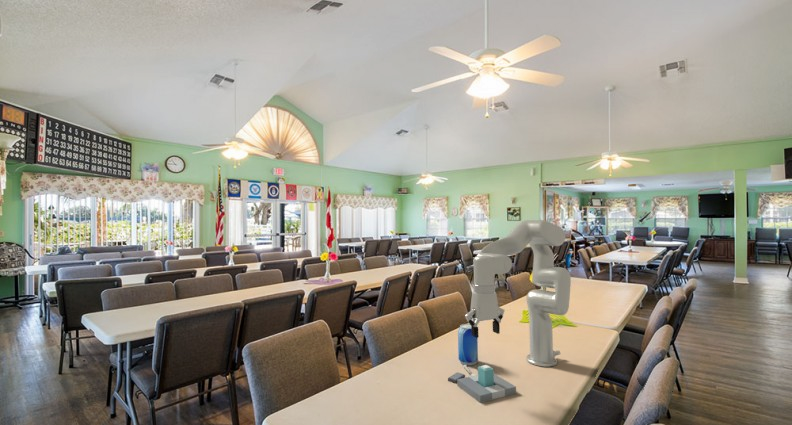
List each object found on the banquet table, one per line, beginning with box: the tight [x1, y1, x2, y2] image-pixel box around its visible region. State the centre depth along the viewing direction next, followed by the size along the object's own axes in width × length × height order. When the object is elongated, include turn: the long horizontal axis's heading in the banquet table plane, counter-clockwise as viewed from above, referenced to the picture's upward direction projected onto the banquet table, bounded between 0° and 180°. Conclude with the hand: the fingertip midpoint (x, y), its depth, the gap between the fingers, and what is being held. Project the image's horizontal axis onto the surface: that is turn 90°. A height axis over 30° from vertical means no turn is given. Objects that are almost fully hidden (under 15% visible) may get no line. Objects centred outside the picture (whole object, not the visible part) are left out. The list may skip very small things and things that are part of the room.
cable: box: [462, 364, 476, 376], centre depth 146 cm, size 11×1×1 cm, turn 9°
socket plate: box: [456, 373, 517, 403], centre depth 131 cm, size 16×14×2 cm
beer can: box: [457, 323, 479, 366], centre depth 157 cm, size 8×8×16 cm
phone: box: [447, 372, 466, 384], centre depth 140 cm, size 7×4×1 cm, turn 139°
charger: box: [477, 364, 495, 388], centre depth 132 cm, size 4×4×8 cm
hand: (485, 334), depth 132 cm, fingers open, 9 cm apart
